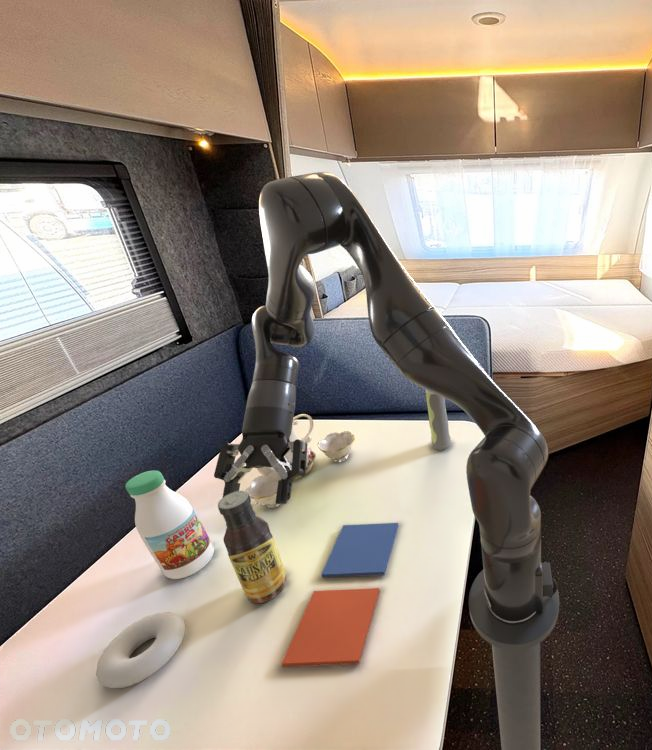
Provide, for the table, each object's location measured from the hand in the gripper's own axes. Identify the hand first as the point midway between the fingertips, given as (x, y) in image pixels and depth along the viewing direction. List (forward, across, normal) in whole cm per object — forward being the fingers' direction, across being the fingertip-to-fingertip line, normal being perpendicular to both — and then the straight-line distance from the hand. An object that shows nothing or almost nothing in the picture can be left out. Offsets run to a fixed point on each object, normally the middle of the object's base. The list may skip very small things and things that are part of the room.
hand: (255, 504), depth 64 cm
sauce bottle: (+14, 0, +8) cm, 16 cm away
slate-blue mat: (+8, +14, +12) cm, 21 cm away
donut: (+21, -13, +1) cm, 25 cm away
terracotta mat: (+18, +14, +3) cm, 23 cm away
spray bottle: (-14, +25, +35) cm, 45 cm away
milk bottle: (+9, -18, +12) cm, 24 cm away
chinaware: (-8, -8, +29) cm, 31 cm away
